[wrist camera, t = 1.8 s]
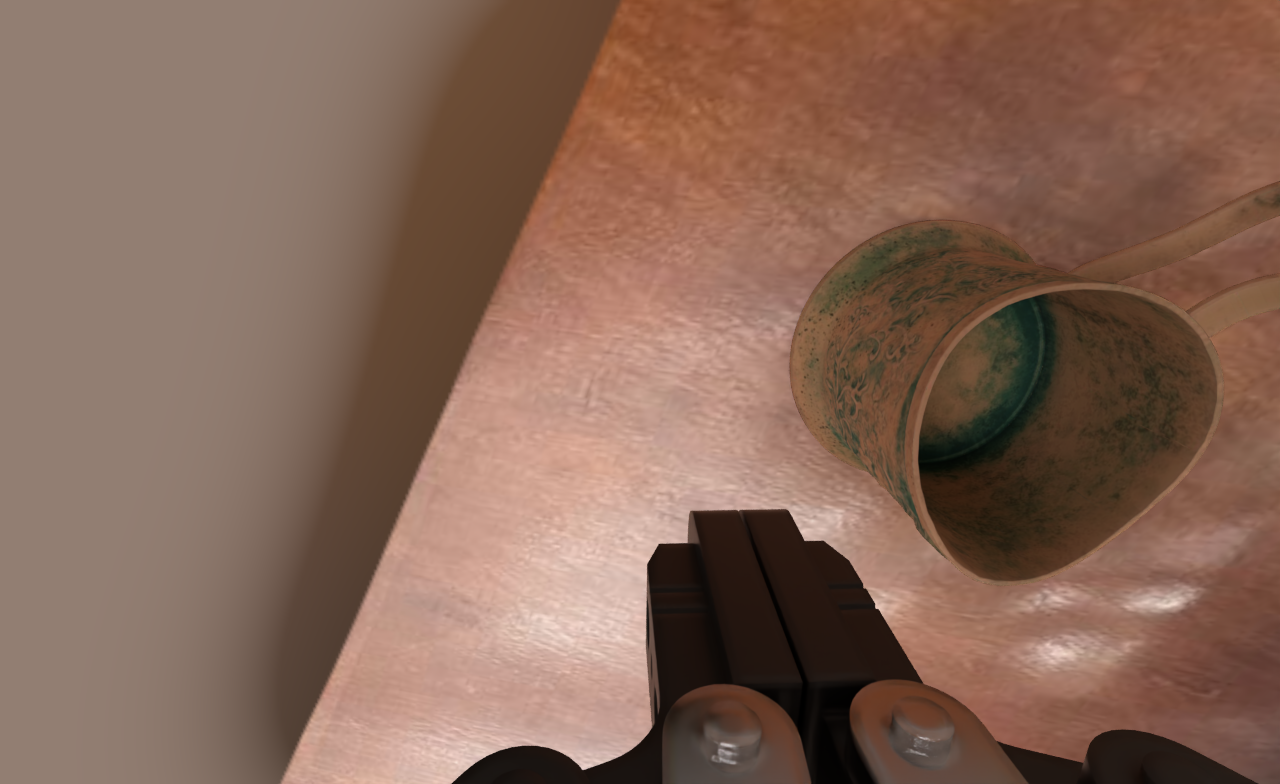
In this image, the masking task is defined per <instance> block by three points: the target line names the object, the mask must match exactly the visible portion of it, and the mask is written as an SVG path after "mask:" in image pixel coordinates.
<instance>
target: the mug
mask: <svg viewBox="0 0 1280 784" xmlns="http://www.w3.org/2000/svg"><path fill="white" fill-rule="evenodd" d="M1277 216H1280V181H1279V182H1276V183H1273V184H1270V185H1267V186H1265V187H1262V188H1260V189H1257V190H1254V191H1252V192H1250V193H1248V194H1245V195H1243V196H1241V197H1239V198H1237V199H1235V200H1233V201H1231V202H1229V203H1227V204H1225V205H1223V206H1221V207H1219V208H1217V209H1215V210H1213V211H1211V212H1209V213H1207V214H1205V215H1203V216H1201V217H1200V218H1197V219H1195V220H1193V221H1191V222H1189V223H1187V224H1185V225H1183V226H1181V227H1179V228H1177V229H1174V230H1172V231H1170V232H1168V233H1165V234H1163V235H1161V236H1158V237H1156V238H1153V239H1151V240H1148V241H1145V242H1142V243H1140V244H1137V245H1134V246H1131V247H1128V248H1126V249H1123V250H1120V251H1117V252H1114V253H1111V254H1109V255H1106V256H1103V257H1101V258H1098V259H1095V260H1093V261H1090V262H1088V263H1086V264H1084V265H1081V266H1079V267H1077V268H1076V269H1074V270H1072V271H1070V272H1069V273H1065V272H1062V271H1059V270H1056V269H1052V268H1048V267H1044V266H1040V265H1036V263H1035V262H1034V261H1033V259H1032V258H1031V257H1030V256H1029V255H1028V254H1027V253H1026V252H1025V251H1024V250H1023V249H1022V248H1021V247H1020V246H1019V245H1017V244H1016V243H1015V242H1013V241H1012V240H1010V239H1009V238H1007V237H1006V236H1004V235H1002V234H1000V233H998V232H996V231H994V230H992V229H989V228H987V227H984V226H980V225H977V224H972V223H968V222H960V221H951V220H929V221H921V222H915V223H911V224H906V225H903V226H899V227H896V228H893V229H891V230H888V231H885V232H883V233H881V234H879V235H877V236H875V237H873V238H871V239H869V240H867V241H866V242H864V243H862V244H861V245H859V246H858V247H856V248H855V249H853V250H852V251H851V252H850V253H848V254H847V255H846V256H844V257H843V258H842V259H841V260H840V261H839V262H838V263H837V264H836V265H835V266H834V267H833V268H832V269H831V270H830V271H829V272H828V273H827V274H826V275H825V276H824V278H823V279H822V280H821V281H820V283H819V284H818V285H817V287H816V288H815V290H814V291H813V293H812V294H811V296H810V297H809V299H808V301H807V303H806V305H805V307H804V309H803V311H802V313H801V315H800V318H799V320H798V323H797V326H796V329H795V332H794V336H793V341H792V345H791V353H790V381H791V388H792V392H793V396H794V400H795V403H796V406H797V408H798V411H799V413H800V415H801V417H802V419H803V421H804V422H805V424H806V426H807V427H808V429H809V430H810V432H811V433H812V434H813V436H814V437H815V438H816V439H817V441H818V442H819V443H820V444H821V445H822V446H823V447H824V448H825V449H826V450H828V451H829V452H830V453H831V454H833V455H834V456H835V457H837V458H838V459H840V460H841V461H843V462H845V463H847V464H849V465H851V466H853V467H855V468H858V469H860V470H864V471H867V472H869V473H870V474H871V475H872V476H873V477H875V479H876V480H877V482H878V483H879V485H881V486H882V487H884V488H885V489H886V490H887V491H888V492H889V493H890V494H891V495H892V496H893V497H894V499H895V500H896V501H897V502H898V503H899V504H900V505H901V506H902V507H903V509H904V510H905V512H906V513H907V514H908V515H909V516H910V517H911V518H912V519H913V520H914V522H915V526H916V528H917V530H918V531H919V532H920V534H921V535H922V536H923V537H924V538H925V539H926V540H927V541H928V542H929V543H930V544H931V545H932V546H933V547H934V548H935V549H936V550H937V551H938V552H939V553H940V554H941V555H942V556H944V557H945V558H946V559H947V560H949V561H950V562H951V563H952V564H953V565H954V566H955V567H956V568H957V569H958V570H959V571H960V572H962V573H963V574H964V575H966V576H967V577H969V578H971V579H973V580H975V581H978V582H981V583H985V584H989V585H998V586H1012V585H1023V584H1029V583H1034V582H1038V581H1041V580H1045V579H1048V578H1050V577H1053V576H1055V575H1057V574H1059V573H1062V572H1064V571H1065V570H1067V569H1069V568H1071V567H1073V566H1074V565H1076V564H1078V563H1079V562H1081V561H1083V560H1084V559H1086V558H1087V557H1089V556H1090V555H1092V554H1093V553H1095V552H1096V551H1098V550H1099V549H1101V548H1102V547H1103V546H1105V545H1106V544H1108V543H1109V542H1110V541H1112V540H1113V539H1114V538H1116V537H1117V536H1118V535H1120V534H1121V533H1122V532H1123V531H1125V530H1126V529H1127V528H1128V527H1130V526H1131V525H1132V524H1133V523H1135V522H1136V521H1137V520H1138V519H1139V518H1141V517H1142V516H1143V515H1144V514H1145V513H1146V512H1147V511H1149V510H1150V509H1151V508H1152V507H1153V506H1154V505H1155V504H1157V503H1158V502H1159V501H1160V500H1161V499H1162V498H1164V497H1165V496H1166V495H1167V494H1168V493H1169V492H1170V491H1171V490H1172V489H1173V488H1174V487H1175V486H1176V485H1177V484H1178V483H1179V482H1180V481H1181V480H1182V479H1183V478H1184V477H1185V476H1186V475H1187V474H1188V473H1189V472H1190V470H1191V469H1192V468H1193V467H1194V465H1195V464H1196V463H1197V461H1198V460H1199V459H1200V457H1201V456H1202V454H1203V453H1204V451H1205V450H1206V448H1207V446H1208V444H1209V442H1210V441H1211V439H1212V437H1213V434H1214V432H1215V430H1216V427H1217V424H1218V421H1219V418H1220V415H1221V410H1222V406H1223V397H1224V380H1223V372H1222V368H1221V364H1220V360H1219V357H1218V354H1217V352H1216V350H1215V348H1214V346H1213V344H1212V342H1211V340H1210V339H1209V338H1210V337H1211V336H1213V335H1215V334H1216V333H1218V332H1220V331H1221V330H1223V329H1225V328H1227V327H1229V326H1231V325H1233V324H1235V323H1237V322H1239V321H1242V320H1244V319H1247V318H1249V317H1252V316H1255V315H1258V314H1261V313H1265V312H1268V311H1272V310H1277V309H1280V273H1278V274H1272V275H1267V276H1263V277H1259V278H1255V279H1252V280H1249V281H1245V282H1242V283H1240V284H1237V285H1234V286H1232V287H1229V288H1227V289H1225V290H1222V291H1220V292H1218V293H1216V294H1214V295H1212V296H1210V297H1208V298H1207V299H1205V300H1203V301H1201V302H1200V303H1198V304H1196V305H1195V306H1193V307H1192V308H1190V309H1189V310H1187V311H1184V310H1183V309H1181V308H1180V307H1178V306H1177V305H1175V304H1174V303H1172V302H1170V301H1168V300H1166V299H1165V298H1163V297H1160V296H1158V295H1155V294H1153V293H1151V292H1147V291H1144V290H1141V289H1138V288H1134V287H1129V286H1125V285H1121V284H1116V283H1115V282H1118V281H1121V280H1124V279H1127V278H1130V277H1133V276H1136V275H1139V274H1142V273H1146V272H1149V271H1152V270H1155V269H1158V268H1160V267H1163V266H1166V265H1169V264H1172V263H1174V262H1177V261H1180V260H1182V259H1184V258H1187V257H1189V256H1192V255H1194V254H1196V253H1199V252H1201V251H1203V250H1205V249H1207V248H1209V247H1211V246H1213V245H1216V244H1218V243H1220V242H1222V241H1224V240H1226V239H1228V238H1230V237H1232V236H1234V235H1236V234H1238V233H1240V232H1242V231H1244V230H1246V229H1248V228H1250V227H1252V226H1255V225H1257V224H1259V223H1262V222H1264V221H1266V220H1269V219H1272V218H1275V217H1277Z"/></svg>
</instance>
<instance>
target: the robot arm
mask: <svg viewBox="0 0 1280 784" xmlns="http://www.w3.org/2000/svg"><path fill="white" fill-rule="evenodd" d="M646 654H647V667H648V680H649V693H650V706H651V719H652V729H651V730H650V732H649V733H648V735H647V736H646V737H645V738H644V739H643V740H642V741H641V742H640V743H639V744H638V745H637V746H636V747H634V748H633V749H632V750H630V751H629V752H627V753H625V754H624V755H622V756H620V757H618V758H615V759H613V760H611V761H608V762H605V763H603V764H600V765H597V766H594V767H591V768H588V769H586V770H582V769H581V768H580V767H579V765H578V764H577V763H575V762H574V761H573V760H572V759H571V758H569V757H568V756H566V755H564V754H562V753H560V752H558V751H556V750H553V749H550V748H546V747H540V746H518V747H511V748H508V749H504V750H500V751H498V752H495V753H493V754H491V755H488V756H486V757H485V758H483V759H481V760H480V761H478V762H476V763H475V764H474V765H472V766H471V767H470V768H469V769H467V770H466V771H465V772H464V773H463V774H462V775H460V776H459V777H458V778H457V779H456V780H455V781H454V782H453V783H452V784H1258V783H1256V782H1254V781H1252V780H1250V779H1248V778H1246V777H1244V776H1242V775H1240V774H1238V773H1237V772H1235V771H1233V770H1231V769H1229V768H1227V767H1225V766H1223V765H1221V764H1219V763H1217V762H1215V761H1213V760H1211V759H1210V758H1208V757H1206V756H1204V755H1202V754H1200V753H1198V752H1196V751H1194V750H1192V749H1190V748H1188V747H1186V746H1184V745H1182V744H1179V743H1177V742H1175V741H1172V740H1169V739H1167V738H1164V737H1161V736H1158V735H1154V734H1151V733H1146V732H1141V731H1136V730H1111V731H1108V732H1104V733H1102V734H1100V735H1098V736H1097V737H1095V738H1094V739H1093V740H1092V742H1091V743H1090V745H1089V748H1088V751H1087V754H1086V757H1085V760H1084V763H1081V762H1077V761H1073V760H1068V759H1064V758H1060V757H1056V756H1051V755H1047V754H1043V753H1039V752H1034V751H1030V750H1026V749H1022V748H1017V747H1014V746H1010V745H1007V744H1003V743H1001V742H998V741H996V740H995V739H994V737H993V736H992V735H991V734H990V732H989V731H988V730H987V728H986V727H985V726H984V724H983V723H982V722H981V721H980V720H979V719H978V717H977V716H976V715H975V714H974V713H973V712H971V711H970V710H969V709H968V708H967V707H966V706H964V705H963V704H962V703H960V702H959V701H958V700H956V699H955V698H953V697H951V696H950V695H948V694H946V693H944V692H942V691H940V690H938V689H936V688H933V687H931V686H928V685H925V684H923V682H922V680H921V679H920V677H919V675H918V674H917V672H916V670H915V669H914V667H913V665H912V664H911V662H910V661H909V659H908V657H907V656H906V654H905V652H904V651H903V649H902V647H901V646H900V644H899V642H898V641H897V639H896V637H895V636H894V634H893V632H892V631H891V629H890V628H889V626H888V624H887V623H886V621H885V619H884V618H883V616H882V614H881V613H880V611H879V609H876V608H875V603H874V601H873V599H872V598H871V596H870V594H869V593H868V591H867V590H866V589H864V588H863V583H862V581H861V580H860V578H859V576H858V575H857V573H856V571H855V570H854V568H853V566H852V565H851V563H850V561H849V560H848V559H846V558H845V557H844V556H843V555H841V554H840V553H839V552H837V551H836V550H835V549H833V548H832V547H831V546H830V545H828V544H827V543H826V542H824V541H804V539H803V537H802V535H801V533H800V531H799V529H798V527H797V526H796V524H795V522H794V520H793V518H792V516H791V514H790V512H789V511H788V510H786V509H772V510H740V511H739V512H738V511H737V510H714V511H691V512H690V515H689V524H688V543H677V544H659V545H658V547H657V548H656V550H655V552H654V554H653V555H652V557H651V559H650V560H649V562H648V564H647V612H646Z"/></svg>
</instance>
